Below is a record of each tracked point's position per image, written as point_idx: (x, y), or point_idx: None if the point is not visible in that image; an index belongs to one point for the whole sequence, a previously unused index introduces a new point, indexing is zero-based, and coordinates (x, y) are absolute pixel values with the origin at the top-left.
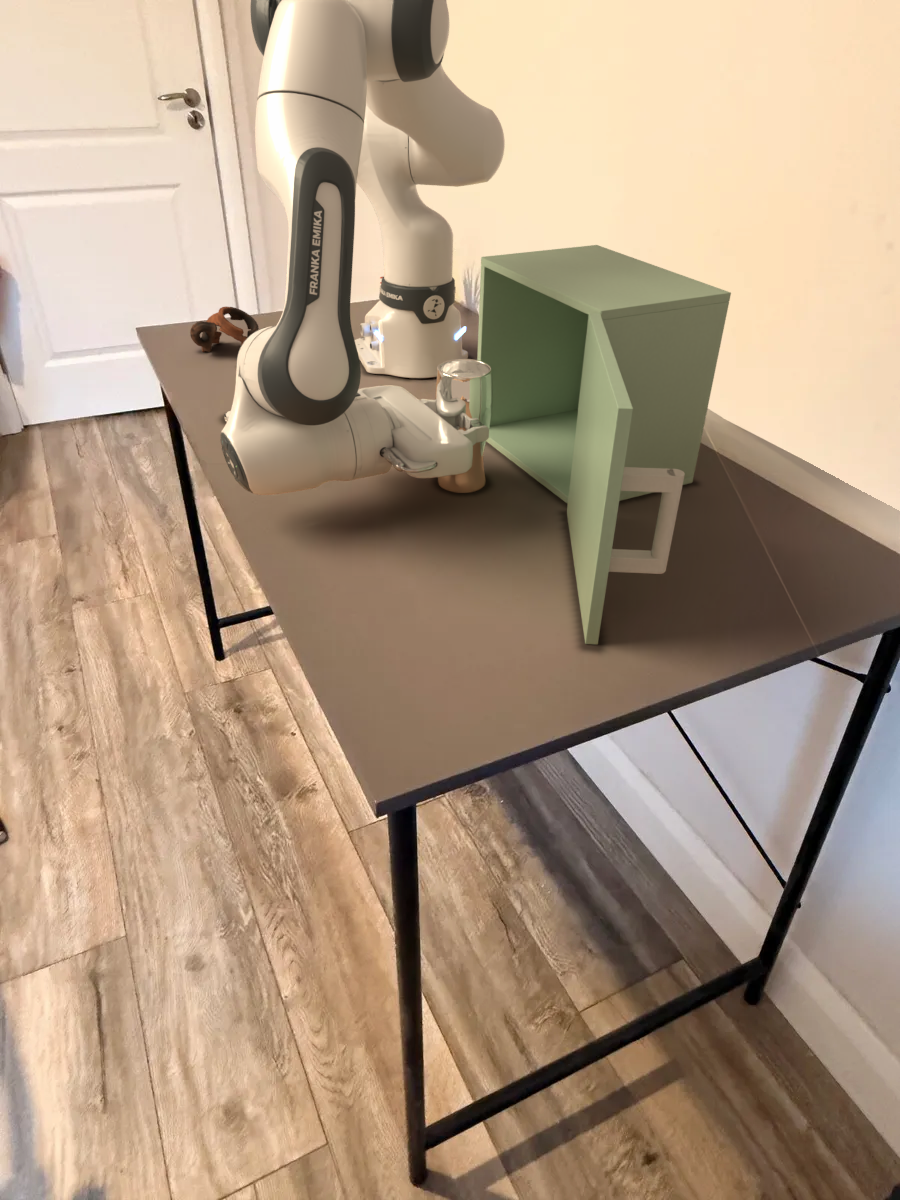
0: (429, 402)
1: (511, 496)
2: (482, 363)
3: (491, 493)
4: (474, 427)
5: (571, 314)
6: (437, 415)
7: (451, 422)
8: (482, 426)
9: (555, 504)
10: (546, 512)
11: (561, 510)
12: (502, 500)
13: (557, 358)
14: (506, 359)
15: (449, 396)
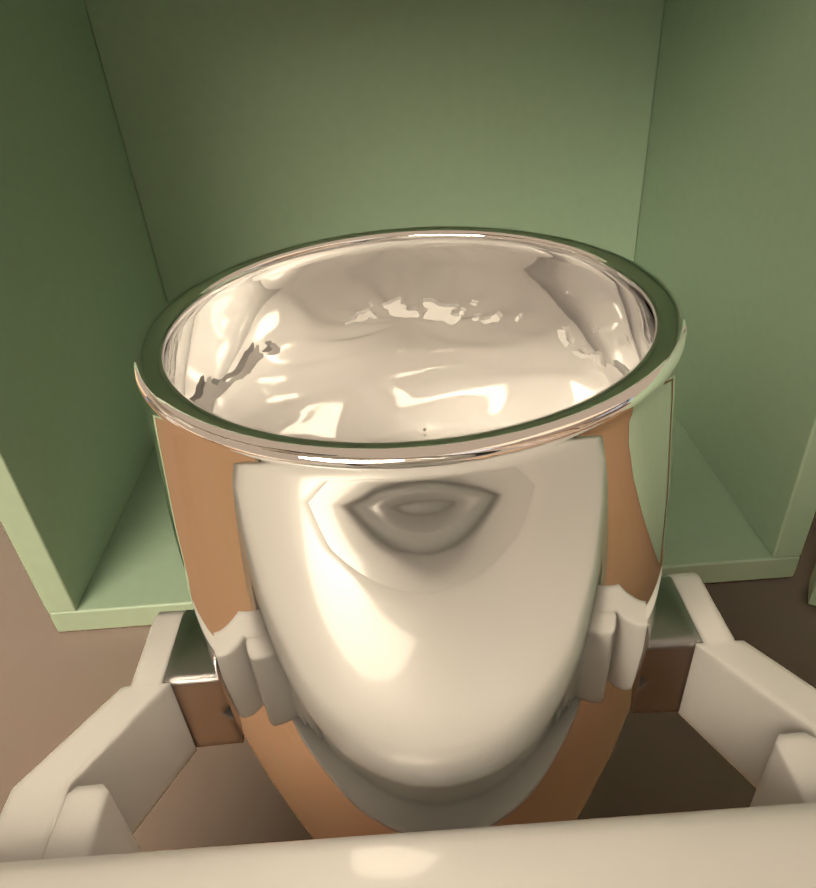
0: (95, 766)
1: (641, 723)
2: (349, 246)
3: (597, 790)
4: (712, 641)
5: (84, 91)
6: (554, 844)
7: (591, 759)
8: (690, 593)
9: (727, 612)
10: (796, 660)
11: (778, 612)
12: (675, 773)
13: (116, 252)
14: (23, 308)
15: (597, 609)
